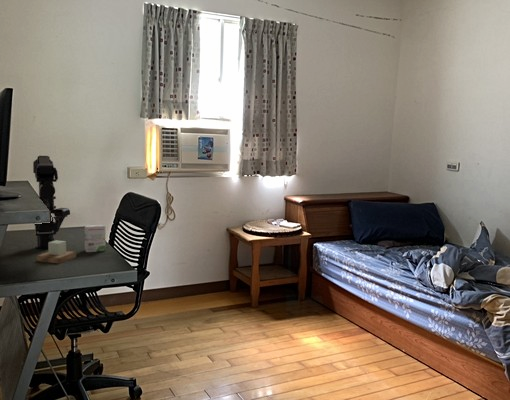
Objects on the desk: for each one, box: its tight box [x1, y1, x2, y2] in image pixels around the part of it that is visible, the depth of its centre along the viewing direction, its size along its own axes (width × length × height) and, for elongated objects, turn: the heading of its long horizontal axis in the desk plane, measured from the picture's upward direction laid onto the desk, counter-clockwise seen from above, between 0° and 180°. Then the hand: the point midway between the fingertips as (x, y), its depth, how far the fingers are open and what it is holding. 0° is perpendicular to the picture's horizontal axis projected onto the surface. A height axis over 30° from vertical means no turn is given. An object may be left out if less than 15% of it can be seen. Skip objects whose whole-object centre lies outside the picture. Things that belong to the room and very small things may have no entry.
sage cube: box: [47, 239, 67, 255], centre depth 209 cm, size 5×5×5 cm
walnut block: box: [36, 250, 77, 264], centre depth 209 cm, size 11×11×3 cm
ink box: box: [84, 224, 107, 253], centre depth 225 cm, size 8×5×12 cm, turn 119°
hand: (47, 230), depth 208 cm, fingers open, 9 cm apart
